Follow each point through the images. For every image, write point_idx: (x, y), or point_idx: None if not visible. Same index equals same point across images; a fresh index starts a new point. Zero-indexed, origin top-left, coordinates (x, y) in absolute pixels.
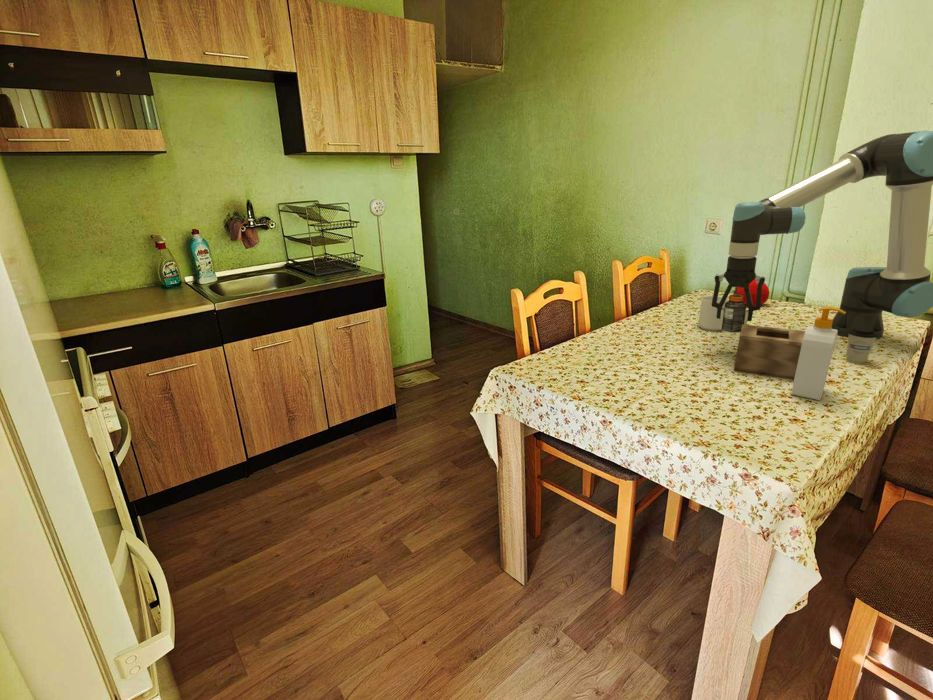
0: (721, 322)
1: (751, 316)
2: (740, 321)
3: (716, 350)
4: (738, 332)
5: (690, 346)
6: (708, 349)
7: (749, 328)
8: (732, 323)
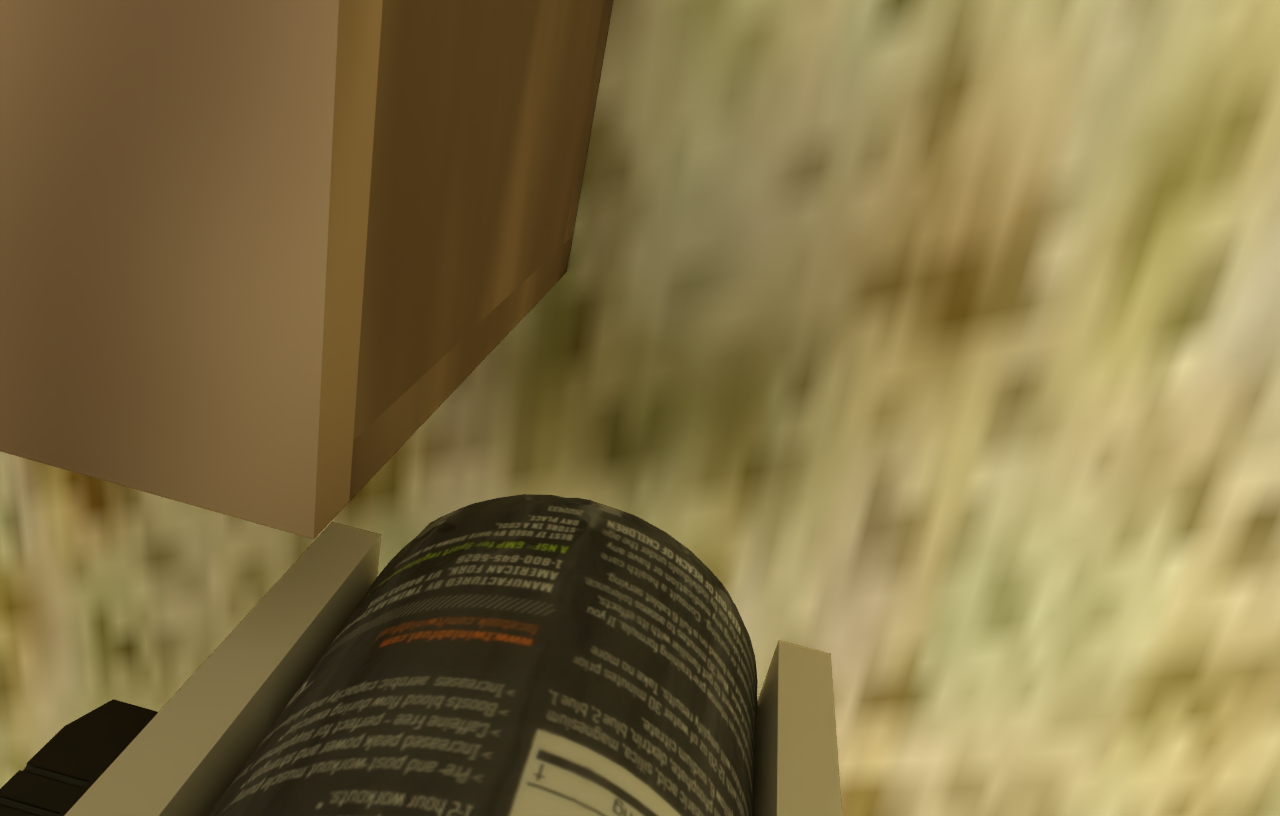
0: (797, 775)
1: (3, 812)
2: (339, 672)
3: (789, 502)
4: (462, 512)
5: (1123, 610)
6: (891, 525)
7: (112, 147)
8: (552, 631)
